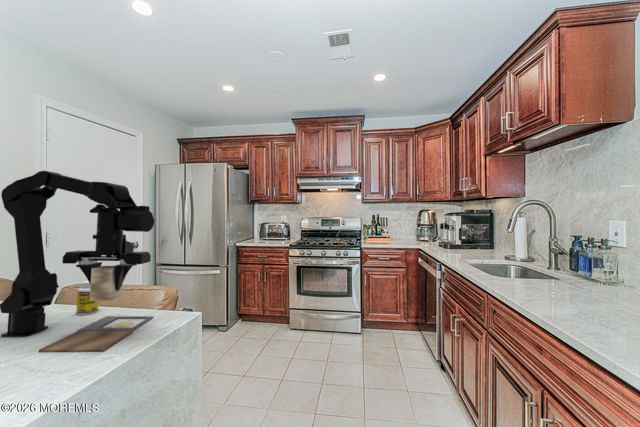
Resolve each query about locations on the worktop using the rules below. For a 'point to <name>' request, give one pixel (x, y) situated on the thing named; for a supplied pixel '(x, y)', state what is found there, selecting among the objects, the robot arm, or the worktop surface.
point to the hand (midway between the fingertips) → (106, 290)
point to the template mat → (109, 319)
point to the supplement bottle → (86, 300)
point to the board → (87, 341)
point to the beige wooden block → (103, 284)
